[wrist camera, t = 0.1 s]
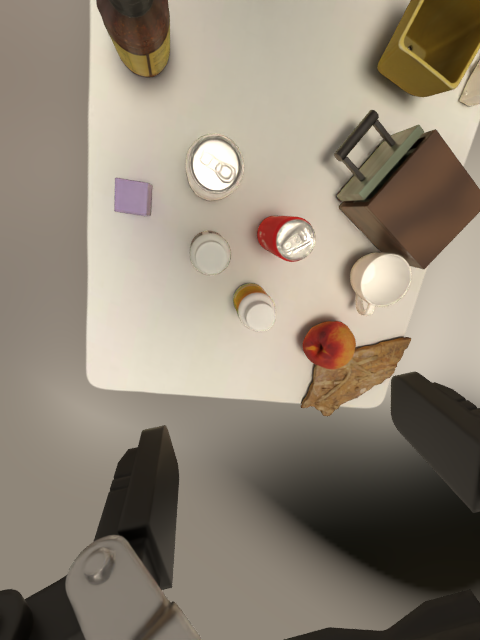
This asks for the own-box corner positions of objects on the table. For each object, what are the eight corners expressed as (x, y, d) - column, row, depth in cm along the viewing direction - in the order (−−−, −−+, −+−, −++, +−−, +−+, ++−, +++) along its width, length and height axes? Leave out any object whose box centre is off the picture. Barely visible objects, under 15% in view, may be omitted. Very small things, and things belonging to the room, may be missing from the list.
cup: (392, 254, 51) (420, 260, 45) (370, 311, 54) (393, 325, 48) (350, 243, 50) (372, 248, 43) (329, 302, 53) (347, 315, 46)
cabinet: (338, 207, 48) (367, 206, 40) (393, 143, 46) (435, 128, 38) (388, 260, 52) (424, 269, 44) (442, 203, 50) (489, 202, 42)
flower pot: (357, 77, 42) (397, 44, 34) (394, 5, 40) (446, -49, 32) (406, 113, 45) (455, 90, 36) (443, 47, 43) (504, 7, 34)
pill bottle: (197, 271, 48) (197, 285, 39) (185, 236, 46) (182, 243, 37) (230, 260, 48) (238, 272, 39) (220, 225, 47) (226, 229, 37)
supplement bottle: (225, 299, 50) (232, 318, 41) (250, 275, 50) (262, 290, 40) (248, 321, 52) (259, 344, 43) (272, 298, 51) (289, 317, 42)
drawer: (312, 170, 45) (331, 163, 38) (364, 107, 43) (393, 89, 37) (383, 246, 50) (411, 252, 44) (433, 193, 48) (469, 191, 42)
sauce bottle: (161, 11, 37) (165, -123, 20) (174, 76, 40) (188, 9, 23) (105, 17, 36) (58, -116, 19) (123, 83, 39) (96, 20, 22)
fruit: (315, 305, 52) (335, 321, 45) (352, 326, 55) (377, 345, 47) (290, 344, 54) (305, 365, 47) (326, 363, 56) (346, 386, 49)
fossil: (301, 419, 60) (304, 425, 58) (295, 359, 55) (298, 363, 54) (405, 395, 62) (410, 399, 60) (407, 334, 57) (413, 337, 56)
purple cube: (122, 180, 43) (115, 177, 39) (152, 185, 44) (148, 183, 40) (121, 211, 44) (114, 211, 40) (150, 215, 45) (146, 216, 41)
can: (218, 210, 46) (226, 210, 35) (179, 183, 44) (173, 174, 33) (242, 169, 44) (258, 155, 33) (202, 140, 43) (205, 114, 31)
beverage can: (295, 238, 49) (325, 246, 37) (267, 257, 49) (288, 271, 38) (278, 208, 47) (304, 207, 36) (249, 228, 47) (265, 234, 36)
